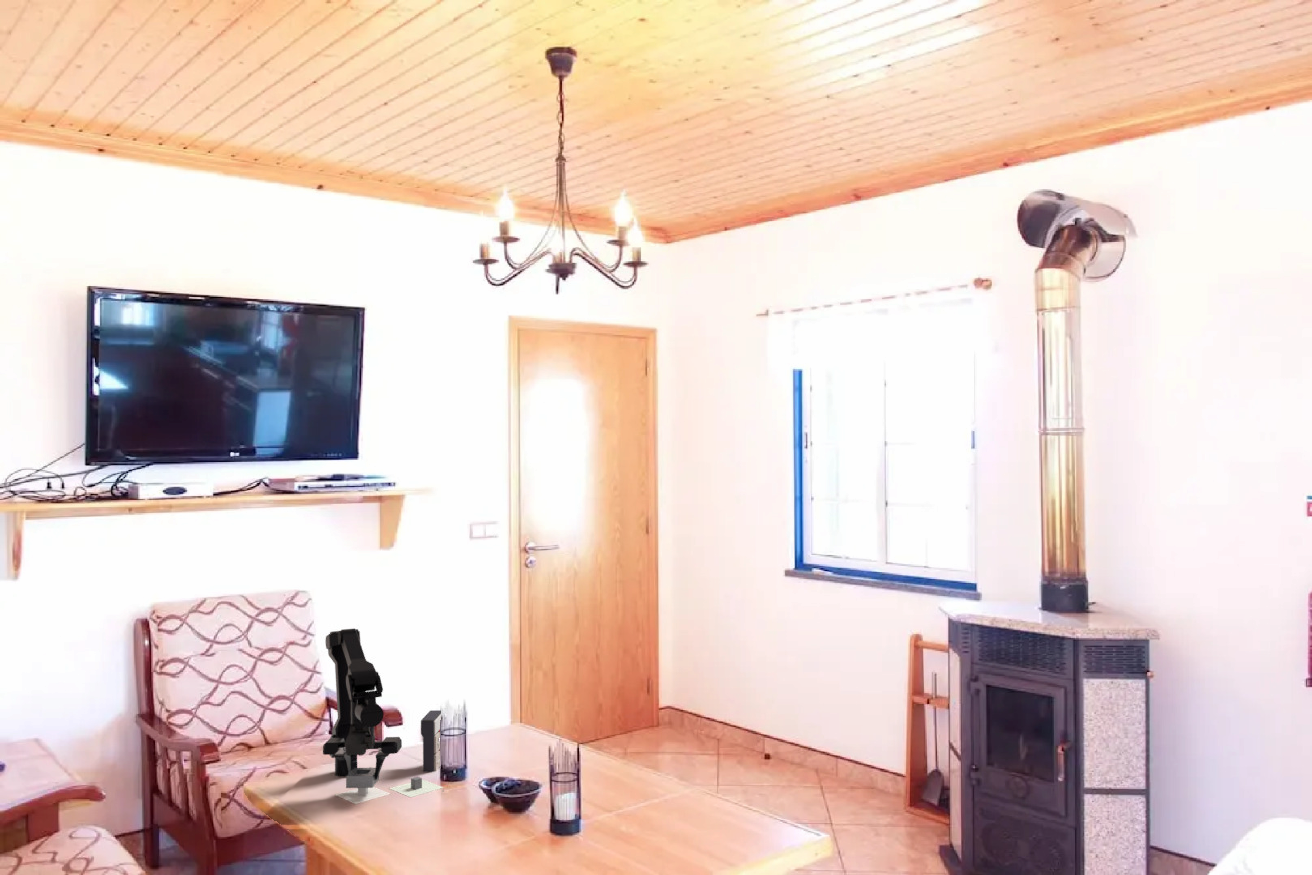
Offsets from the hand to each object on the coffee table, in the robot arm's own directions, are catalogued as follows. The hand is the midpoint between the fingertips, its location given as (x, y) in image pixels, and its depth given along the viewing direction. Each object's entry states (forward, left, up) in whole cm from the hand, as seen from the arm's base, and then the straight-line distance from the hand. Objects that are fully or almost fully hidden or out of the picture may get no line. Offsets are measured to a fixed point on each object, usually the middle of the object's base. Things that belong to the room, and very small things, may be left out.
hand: (362, 779), depth 258 cm
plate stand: (0, 0, -5) cm, 5 cm away
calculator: (-7, +26, -5) cm, 27 cm away
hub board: (+6, +12, -5) cm, 14 cm away
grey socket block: (0, 0, -1) cm, 1 cm away
